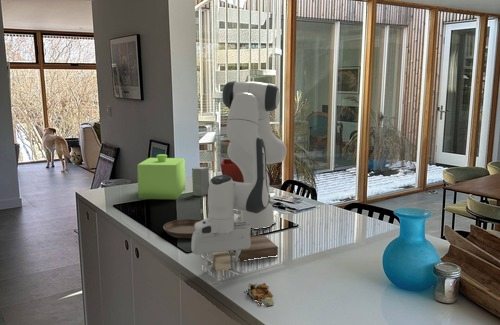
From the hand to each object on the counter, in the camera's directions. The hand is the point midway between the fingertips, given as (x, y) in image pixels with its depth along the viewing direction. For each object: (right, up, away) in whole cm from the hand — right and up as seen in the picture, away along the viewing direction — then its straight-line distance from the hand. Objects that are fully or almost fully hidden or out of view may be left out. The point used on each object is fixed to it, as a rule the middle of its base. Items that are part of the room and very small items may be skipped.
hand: (221, 263), depth 154 cm
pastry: (+13, -6, -21) cm, 26 cm away
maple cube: (0, -2, 0) cm, 2 cm away
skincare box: (-19, +16, +107) cm, 110 cm away
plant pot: (+2, +18, +123) cm, 125 cm away
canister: (-41, +16, +108) cm, 117 cm away
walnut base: (+11, +1, +14) cm, 18 cm away
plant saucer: (-17, +4, +38) cm, 42 cm away
